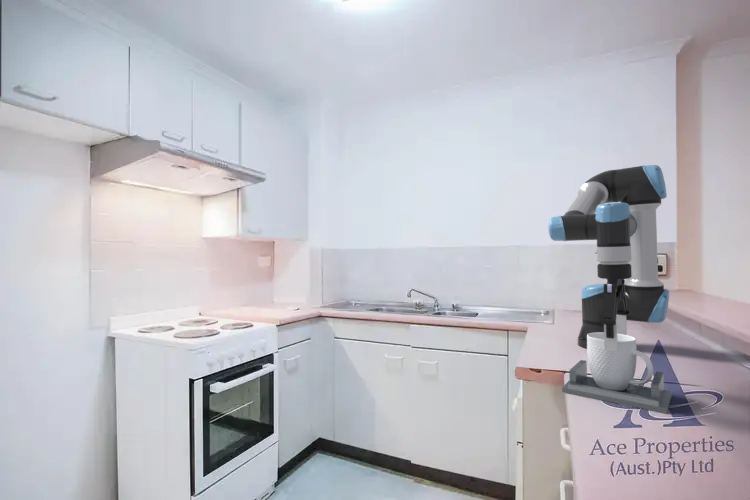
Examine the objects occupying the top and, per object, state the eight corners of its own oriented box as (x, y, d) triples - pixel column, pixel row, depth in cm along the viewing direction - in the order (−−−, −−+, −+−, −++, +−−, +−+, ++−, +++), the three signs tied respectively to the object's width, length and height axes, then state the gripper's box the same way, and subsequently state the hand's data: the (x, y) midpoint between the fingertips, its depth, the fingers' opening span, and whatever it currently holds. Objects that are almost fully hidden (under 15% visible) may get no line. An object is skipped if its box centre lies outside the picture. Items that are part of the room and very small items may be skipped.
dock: (575, 378, 112) (574, 359, 112) (671, 396, 98) (671, 373, 98) (562, 392, 102) (561, 370, 102) (666, 413, 88) (666, 388, 88)
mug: (662, 392, 97) (661, 339, 97) (642, 402, 91) (641, 346, 91) (600, 377, 109) (599, 330, 109) (579, 385, 103) (578, 335, 103)
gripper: (607, 259, 113) (609, 332, 114) (586, 266, 94) (588, 353, 95) (638, 259, 108) (640, 336, 109) (622, 266, 89) (625, 358, 90)
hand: (616, 344), depth 102 cm, fingers open, 13 cm apart
